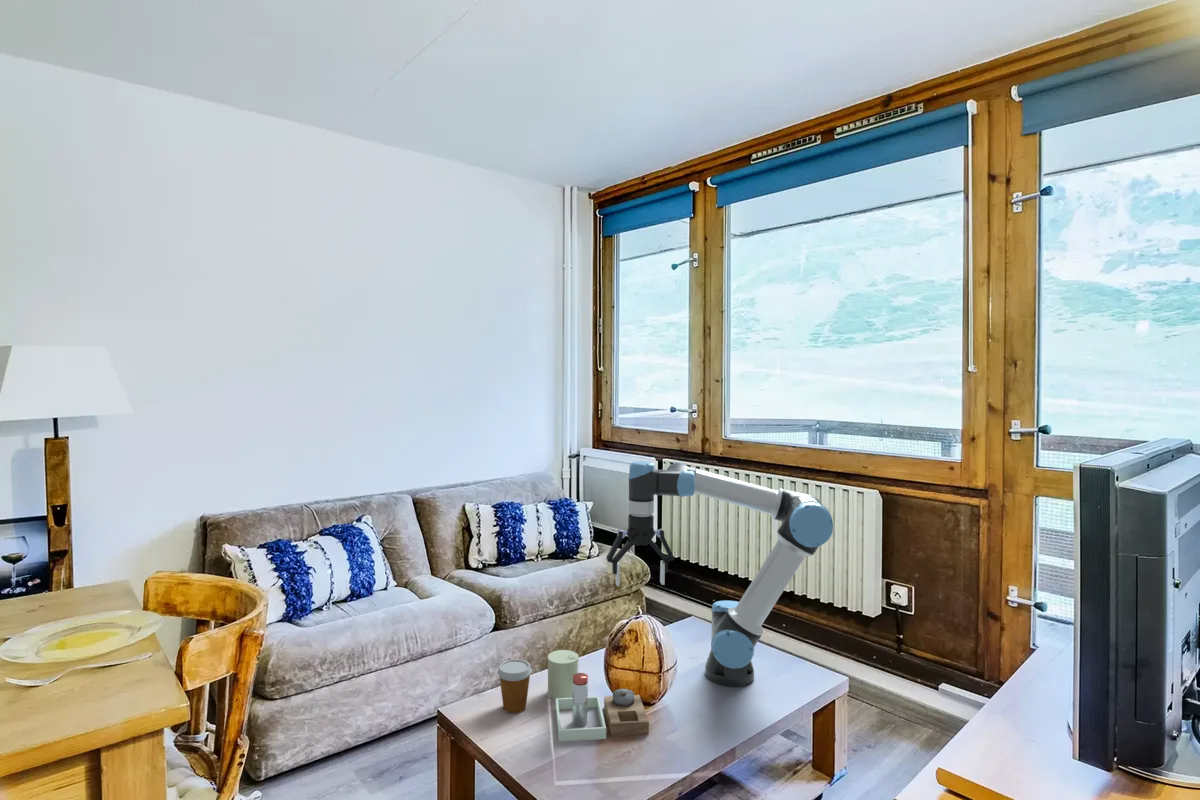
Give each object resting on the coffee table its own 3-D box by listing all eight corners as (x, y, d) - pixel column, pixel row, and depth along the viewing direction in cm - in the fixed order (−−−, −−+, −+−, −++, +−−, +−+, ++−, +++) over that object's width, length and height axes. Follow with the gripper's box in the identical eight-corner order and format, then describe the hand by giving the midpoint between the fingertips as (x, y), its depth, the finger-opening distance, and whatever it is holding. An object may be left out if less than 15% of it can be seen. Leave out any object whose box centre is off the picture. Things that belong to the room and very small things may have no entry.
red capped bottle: (586, 719, 176) (587, 672, 175) (587, 727, 172) (588, 679, 171) (571, 719, 176) (572, 673, 175) (572, 728, 172) (573, 680, 171)
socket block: (648, 736, 169) (649, 710, 169) (610, 738, 168) (611, 712, 167) (639, 708, 183) (639, 684, 183) (604, 710, 182) (604, 686, 181)
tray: (555, 710, 181) (555, 698, 181) (598, 708, 183) (598, 696, 182) (558, 744, 165) (558, 730, 165) (606, 741, 167) (606, 728, 166)
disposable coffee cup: (529, 716, 178) (530, 674, 177) (495, 716, 178) (495, 674, 177) (533, 699, 187) (533, 658, 187) (500, 698, 187) (500, 658, 187)
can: (574, 704, 185) (574, 663, 184) (543, 700, 187) (543, 660, 186) (581, 688, 194) (582, 649, 193) (552, 685, 196) (552, 646, 195)
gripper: (679, 510, 198) (677, 578, 199) (598, 511, 195) (597, 581, 196) (685, 516, 190) (683, 587, 191) (601, 517, 187) (600, 589, 188)
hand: (640, 584), depth 193 cm, fingers open, 13 cm apart
